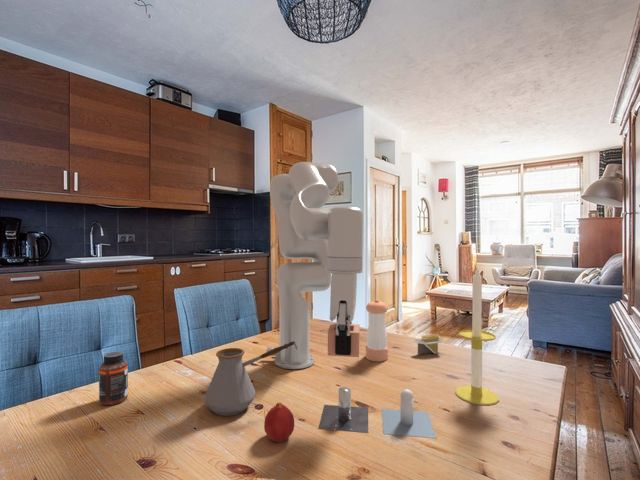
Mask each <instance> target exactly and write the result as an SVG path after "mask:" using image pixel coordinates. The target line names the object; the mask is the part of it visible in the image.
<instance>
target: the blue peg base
mask: <svg viewBox="0 0 640 480" xmlns="http://www.w3.org/2000/svg"><path fill="white" fill-rule="evenodd" d="M381 418H382V419H381V420H382V428H383V431H382V432H383V435H389V436H391V435H392V436H403V437H413V438H414V437H415V438H427V439H428V438H429V439H437V436H436V433H435V432H436V431H435V430H434V426H433V423H432V422H431V421H432V420H431V418H430V416H429V412H428V411H423V410H422V411H419V410H414V394H413V392H412V391H411V390H410V389H408V388H405V389H403V390H402V391H401V392H400V409H390V408H381Z"/></svg>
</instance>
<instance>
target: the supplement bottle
mask: <svg viewBox="0 0 640 480" xmlns="http://www.w3.org/2000/svg"><path fill="white" fill-rule="evenodd" d="M128 364H129V363H128V361H127V360H125V359H124V352H123V351H113V352H112V351H111V352H109V353H106V354H104V355H103V363H102V364H100V366H99V367H98V372H99V373H98V386H99V387H98V390H99V391H98V397H99V398H98V400H99V404H100V405H102V406H114V405H117V404H120V403H122V402H124V401H125V400H127V398H128V397H129V383H128V382H129V381H128V378H129V377H128V376H129V375H128V374H129V370H128V367H129V365H128Z"/></svg>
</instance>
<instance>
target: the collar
mask: <svg viewBox="0 0 640 480" xmlns="http://www.w3.org/2000/svg"><path fill="white" fill-rule="evenodd" d="M345 325H347V324H345ZM360 328H361V326H360V324H357V323H352V324H350V335H351V354H350V355H336V354H335V334H336V322H335V323H330V325H329V328H328V330H327V356H328V357H329V356H332V357H347V358H359V357H360V336H361V335H360V332H361V329H360Z"/></svg>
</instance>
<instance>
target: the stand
mask: <svg viewBox="0 0 640 480" xmlns="http://www.w3.org/2000/svg"><path fill="white" fill-rule="evenodd" d="M351 394H352V389H351V388H350V387H346V386H342V387H339V388H338V405H333V404H332V405H331V404H323V409H322V413H321V416H320V420H319V425H318V428H317V429H318V430H328V431H339V432H349V433H350V432H352V433H365V434H369V407H364V406H352V401H351V399H352V396H351Z"/></svg>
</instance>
